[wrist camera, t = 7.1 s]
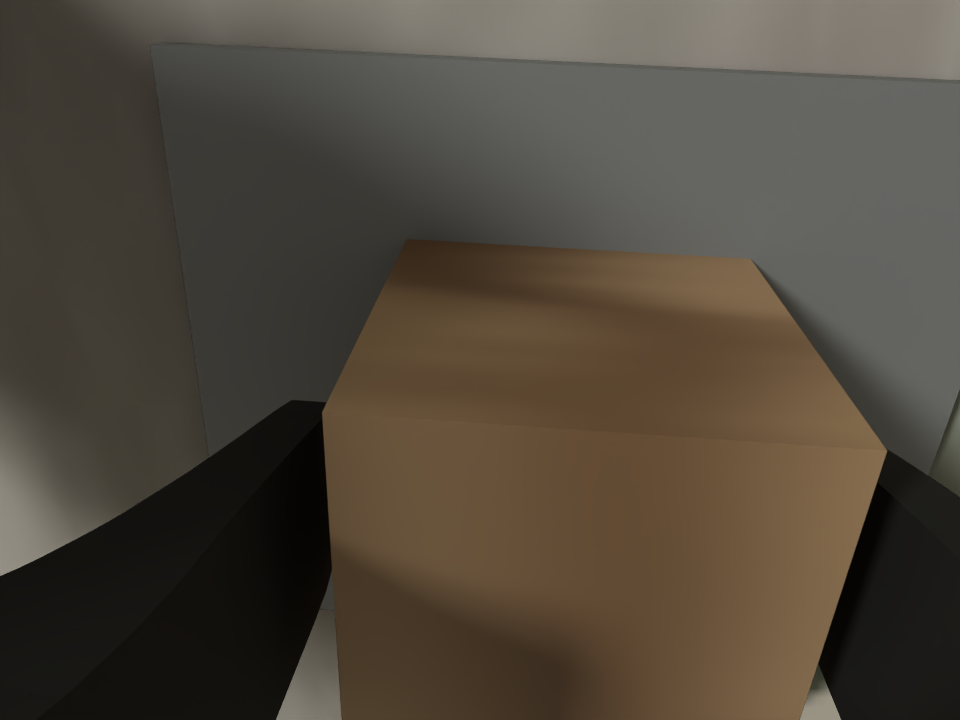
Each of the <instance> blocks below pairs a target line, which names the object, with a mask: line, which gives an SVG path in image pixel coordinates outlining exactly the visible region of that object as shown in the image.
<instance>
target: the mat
mask: <svg viewBox="0 0 960 720" xmlns="http://www.w3.org/2000/svg"><path fill="white" fill-rule="evenodd" d="M150 51H151V58H152V65H153V72H154V79H155V86H156V93H157V100H158V106H159V113H160V120H161V127H162V134H163V141H164V148H165V155H166V162H167V169H168V176H169V183H170V190H171V197H172V204H173V211H174V218H175V225H176V232H177V239H178V246H179V253H180V260H181V266H182V273H183V280H184V287H185V294H186V301H187V308H188V315H189V322H190V329H191V336H192V343H193V350H194V357H195V364H196V371H197V378H198V385H199V392H200V399H201V406H202V413H203V420H204V427H205V433H206V440H207V447H208V454H209V457H211V456H212V455H213V454H215V453H216V452H218V451H219V450H221V449H222V448H223V447H225V446H226V445H228V444H229V443H231V442H232V441H233V440H235V439H236V438H238V437H239V436H240V435H242V434H243V433H245V432H246V431H247V430H249V429H250V428H252V427H253V426H254V425H256V424H257V423H258V422H260V421H261V420H263V419H264V418H265V417H267V416H268V415H270V414H271V413H272V412H274V411H275V410H277V409H278V408H280V407H281V406H283V405H284V404H286V403H288V402H289V401H291V400H301V401H316V402H327V401H328V399H329V397H330V395H331V393H332V391H333V389H334V387H335V385H336V383H337V381H338V379H339V377H340V375H341V373H342V371H343V368H344V366H345V364H346V362H347V360H348V358H349V356H350V354H351V352H352V350H353V348H354V346H355V344H356V342H357V340H358V338H359V336H360V334H361V332H362V330H363V328H364V325H365V323H366V321H367V319H368V317H369V315H370V313H371V311H372V309H373V307H374V305H375V303H376V301H377V299H378V297H379V295H380V293H381V291H382V289H383V287H384V284H385V282H386V280H387V278H388V276H389V274H390V272H391V270H392V268H393V266H394V264H395V262H396V260H397V258H398V256H399V254H400V252H401V250H402V248H403V246H404V244H405V241H406V239H415V240H432V241H450V242H467V243H484V244H502V245H519V246H537V247H554V248H571V249H589V250H606V251H624V252H641V253H658V254H676V255H693V256H711V257H728V258H745V259H751V260H752V261H753V263H754V264H755V266H756V267H757V268H758V270H759V271H760V273H761V274H762V275H763V277H764V278H765V280H766V281H767V282H768V284H769V285H770V287H771V288H772V289H773V291H774V292H775V294H776V295H777V297H778V298H779V299H780V301H781V302H782V304H783V305H784V306H785V308H786V309H787V311H788V312H789V313H790V315H791V316H792V318H793V319H794V320H795V322H796V323H797V325H798V326H799V327H800V329H801V330H802V332H803V333H804V334H805V336H806V337H807V339H808V340H809V341H810V343H811V344H812V346H813V347H814V349H815V350H816V351H817V353H818V354H819V356H820V357H821V358H822V360H823V361H824V363H825V364H826V365H827V367H828V368H829V370H830V371H831V372H832V374H833V375H834V377H835V378H836V379H837V381H838V382H839V384H840V385H841V386H842V388H843V389H844V391H845V392H846V393H847V395H848V396H849V398H850V399H851V401H852V402H853V403H854V405H855V406H856V408H857V409H858V410H859V412H860V413H861V415H862V416H863V417H864V419H865V420H866V422H867V423H868V424H869V426H870V427H871V429H872V430H873V431H874V433H875V434H876V436H877V437H878V438H879V440H880V441H881V443H882V444H883V445H884V447H885V448H886V449H888V450H890V451H891V452H893V453H894V454H896V455H898V456H899V457H901V458H902V459H904V460H905V461H907V462H908V463H910V464H911V465H913V466H914V467H916V468H917V469H919V470H920V471H922V472H923V473H925V474H926V475H928V476H929V473H930V470H931V467H932V465H933V462H934V459H935V456H936V454H937V451H938V448H939V445H940V443H941V440H942V437H943V434H944V432H945V429H946V426H947V423H948V420H949V418H950V415H951V412H952V409H953V407H954V404H955V401H956V398H957V396H958V393H959V390H960V80H939V79H918V78H897V77H876V76H855V75H834V74H813V73H792V72H771V71H750V70H729V69H708V68H687V67H666V66H645V65H624V64H603V63H582V62H561V61H540V60H519V59H498V58H477V57H456V56H435V55H414V54H393V53H372V52H351V51H330V50H309V49H288V48H267V47H246V46H225V45H204V44H183V43H158V44H153V45H150ZM320 609H322V610H334V611H335V607H334V591H333V575H332V572H331V576H330V580H329V583H328V587H327V591H326V593H325V596H324V599H323V601H322V604H321V607H320Z"/></svg>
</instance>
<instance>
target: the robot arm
mask: <svg viewBox="0 0 960 720" xmlns="http://www.w3.org/2000/svg"><path fill="white" fill-rule="evenodd" d="M326 403H327V402H316V401H301V400H291V401H289V402H288V403H286V404H284V405H283V406H281V407H280V408H278V409H277V410H275V411H274V412H272V413H271V414H270V415H268V416H267V417H265V418H264V419H263V420H261V421H260V422H258V423H257V424H256V425H254V426H253V427H252V428H250V429H249V430H247V431H246V432H245V433H243V434H242V435H240V436H239V437H238V438H236V439H235V440H233V441H232V442H231V443H229V444H228V445H226V446H225V447H223V448H222V449H221V450H219V451H218V452H216V453H215V454H213V455H212V456H211V457H209V458H208V459H206V460H205V461H203V462H202V463H201V464H199V465H198V466H196V467H195V468H193V469H192V470H191V471H189V472H188V473H186V474H184V475H183V476H181V477H180V478H178V479H176V480H175V481H173V482H172V483H170V484H169V485H167V486H165V487H164V488H162V489H161V490H159V491H157V492H156V493H154V494H153V495H151V496H150V497H148V498H146V499H145V500H143V501H142V502H140V503H138V504H137V505H135V506H134V507H132V508H131V509H129V510H127V511H126V512H124V513H122V514H121V515H119V516H117V517H116V518H114V519H112V520H110V521H109V522H107V523H105V524H103V525H102V526H100V527H98V528H96V529H94V530H93V531H91V532H89V533H87V534H85V535H83V536H82V537H80V538H78V539H76V540H74V541H72V542H70V543H68V544H66V545H64V546H62V547H60V548H58V549H56V550H54V551H52V552H51V553H49V554H47V555H45V556H43V557H41V558H39V559H37V560H35V561H33V562H31V563H28V564H26V565H24V566H22V567H20V568H18V569H16V570H13V571H11V572H9V573H6V574H4V575H2V576H0V720H276V718H277V715H278V713H279V710H280V708H281V705H282V703H283V700H284V698H285V695H286V693H287V690H288V688H289V685H290V683H291V680H292V678H293V675H294V673H295V670H296V668H297V665H298V663H299V660H300V658H301V655H302V653H303V650H304V648H305V645H306V643H307V640H308V637H309V635H310V632H311V630H312V627H313V625H314V622H315V619H316V617H317V614H318V612H319V609H320V607H321V604H322V601H323V599H324V596H325V593H326V591H327V587H328V583H329V580H330V576H331V572H332V560H331V544H330V528H329V513H328V497H327V482H326V466H325V450H324V435H323V419H322V412H323V409H324V407H325V405H326ZM886 450H887V453H886V456H885V459H884V462H883V465H882V468H881V472H880V475H879V478H878V481H877V484H876V487H875V490H874V493H873V496H872V499H871V502H870V505H869V508H868V511H867V514H866V518H865V521H864V524H863V527H862V530H861V533H860V536H859V539H858V542H857V545H856V548H855V551H854V554H853V557H852V561H851V564H850V567H849V570H848V573H847V576H846V579H845V582H844V585H843V588H842V591H841V594H840V597H839V600H838V603H837V607H836V610H835V613H834V616H833V619H832V622H831V625H830V628H829V631H828V634H827V637H826V640H825V643H824V646H823V650H822V653H821V656H820V659H819V662H818V664H819V666H820V669H821V671H822V674H823V676H824V679H825V681H826V684H827V686H828V688H829V691H830V693H831V696H832V698H833V701H834V703H835V705H836V708H837V710H838V713H839V715H840V718H841V720H960V497H959V496H957V495H956V494H954V493H953V492H951V491H950V490H948V489H947V488H945V487H944V486H943V485H941V484H940V483H938V482H937V481H935V480H934V479H932V478H931V477H929V476H928V475H926V474H925V473H923V472H922V471H920V470H919V469H917V468H916V467H914V466H913V465H911V464H910V463H908V462H907V461H905V460H904V459H902V458H901V457H899V456H898V455H896V454H894V453H893V452H891V451H890V450H888V449H886Z"/></svg>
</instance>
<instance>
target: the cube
mask: <svg viewBox="0 0 960 720" xmlns="http://www.w3.org/2000/svg"><path fill="white" fill-rule="evenodd" d="M322 419H323V435H324V450H325V466H326V482H327V497H328V513H329V528H330V544H331V560H332V575H333V591H334V607H335V622H336V638H337V653H338V669H339V685H340V700H341V716H342V720H800V717H801V714H802V711H803V708H804V705H805V702H806V699H807V696H808V692H809V689H810V686H811V683H812V680H813V677H814V674H815V671H816V668H817V665H818V662H819V659H820V656H821V653H822V650H823V646H824V643H825V640H826V637H827V634H828V631H829V628H830V625H831V622H832V619H833V616H834V613H835V610H836V607H837V603H838V600H839V597H840V594H841V591H842V588H843V585H844V582H845V579H846V576H847V573H848V570H849V567H850V564H851V561H852V557H853V554H854V551H855V548H856V545H857V542H858V539H859V536H860V533H861V530H862V527H863V524H864V521H865V518H866V514H867V511H868V508H869V505H870V502H871V499H872V496H873V493H874V490H875V487H876V484H877V481H878V478H879V475H880V472H881V468H882V465H883V462H884V459H885V456H886V453H887V450H886V448H885V447H884V445H883V444H882V443H881V441H880V440H879V438H878V437H877V436H876V434H875V433H874V431H873V430H872V429H871V427H870V426H869V424H868V423H867V422H866V420H865V419H864V417H863V416H862V415H861V413H860V412H859V410H858V409H857V408H856V406H855V405H854V403H853V402H852V401H851V399H850V398H849V396H848V395H847V393H846V392H845V391H844V389H843V388H842V386H841V385H840V384H839V382H838V381H837V379H836V378H835V377H834V375H833V374H832V372H831V371H830V370H829V368H828V367H827V365H826V364H825V363H824V361H823V360H822V358H821V357H820V356H819V354H818V353H817V351H816V350H815V349H814V347H813V346H812V344H811V343H810V341H809V340H808V339H807V337H806V336H805V334H804V333H803V332H802V330H801V329H800V327H799V326H798V325H797V323H796V322H795V320H794V319H793V318H792V316H791V315H790V313H789V312H788V311H787V309H786V308H785V306H784V305H783V304H782V302H781V301H780V299H779V298H778V297H777V295H776V294H775V292H774V291H773V289H772V288H771V287H770V285H769V284H768V282H767V281H766V280H765V278H764V277H763V275H762V274H761V273H760V271H759V270H758V268H757V267H756V266H755V264H754V263H753V261H752V260H751V259H745V258H728V257H711V256H693V255H676V254H658V253H641V252H624V251H606V250H589V249H571V248H554V247H537V246H519V245H502V244H484V243H467V242H450V241H432V240H415V239H406V241H405V244H404V246H403V248H402V250H401V252H400V254H399V256H398V258H397V260H396V262H395V264H394V266H393V268H392V270H391V272H390V274H389V276H388V278H387V280H386V282H385V284H384V287H383V289H382V291H381V293H380V295H379V297H378V299H377V301H376V303H375V305H374V307H373V309H372V311H371V313H370V315H369V317H368V319H367V321H366V323H365V325H364V328H363V330H362V332H361V334H360V336H359V338H358V340H357V342H356V344H355V346H354V348H353V350H352V352H351V354H350V356H349V358H348V360H347V362H346V364H345V366H344V368H343V371H342V373H341V375H340V377H339V379H338V381H337V383H336V385H335V387H334V389H333V391H332V393H331V395H330V397H329V399H328V401H327V403H326V405H325V407H324V409H323V412H322Z"/></svg>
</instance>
